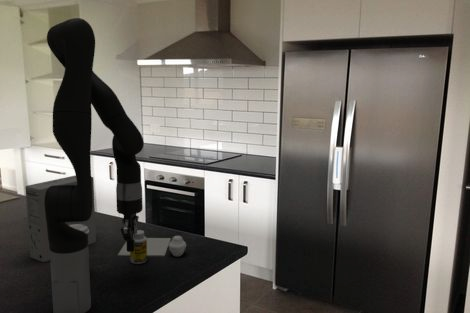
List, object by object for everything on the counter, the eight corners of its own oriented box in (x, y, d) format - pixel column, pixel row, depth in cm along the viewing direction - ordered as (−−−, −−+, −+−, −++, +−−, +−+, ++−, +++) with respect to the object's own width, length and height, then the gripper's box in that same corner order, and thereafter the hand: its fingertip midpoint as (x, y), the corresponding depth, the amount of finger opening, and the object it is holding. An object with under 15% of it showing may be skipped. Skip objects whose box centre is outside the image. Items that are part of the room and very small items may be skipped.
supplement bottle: (133, 266, 135) (132, 236, 133) (127, 259, 139) (126, 230, 138) (149, 262, 138) (149, 233, 136) (143, 256, 142) (142, 228, 141)
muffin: (175, 259, 140) (175, 240, 139) (164, 254, 144) (164, 235, 143) (190, 254, 144) (190, 235, 143) (178, 249, 149) (178, 231, 147)
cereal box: (82, 238, 158) (79, 174, 154) (96, 242, 154) (93, 176, 150) (29, 257, 140) (24, 185, 135) (44, 263, 136) (39, 189, 131)
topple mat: (164, 256, 143) (164, 255, 143) (117, 255, 142) (117, 254, 142) (170, 239, 158) (170, 238, 158) (128, 238, 158) (128, 237, 158)
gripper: (137, 202, 117) (138, 260, 120) (146, 190, 130) (147, 242, 133) (110, 202, 117) (112, 259, 120) (122, 190, 130) (123, 242, 133)
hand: (130, 250), depth 127 cm, fingers closed
